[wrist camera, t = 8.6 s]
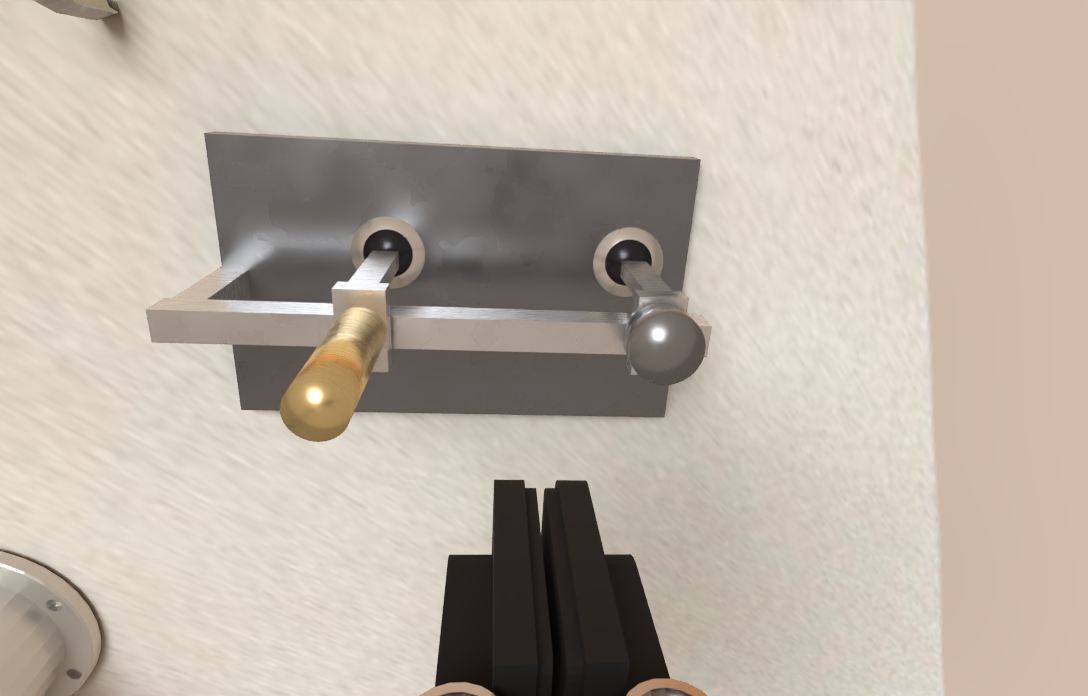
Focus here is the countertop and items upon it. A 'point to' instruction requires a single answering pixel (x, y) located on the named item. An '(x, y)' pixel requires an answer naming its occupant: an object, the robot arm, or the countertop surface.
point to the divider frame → (454, 324)
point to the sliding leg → (345, 353)
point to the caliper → (82, 7)
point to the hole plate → (453, 257)
